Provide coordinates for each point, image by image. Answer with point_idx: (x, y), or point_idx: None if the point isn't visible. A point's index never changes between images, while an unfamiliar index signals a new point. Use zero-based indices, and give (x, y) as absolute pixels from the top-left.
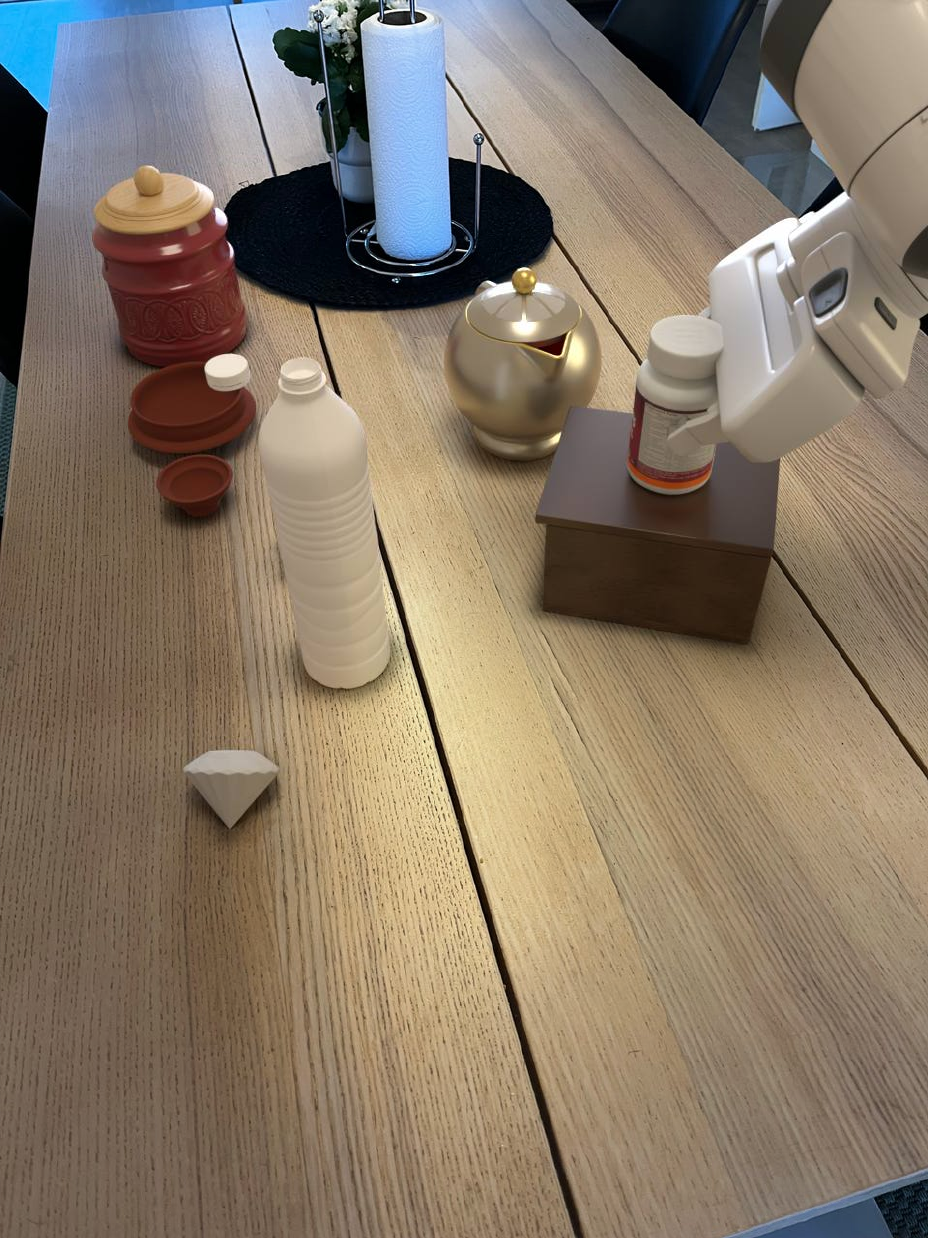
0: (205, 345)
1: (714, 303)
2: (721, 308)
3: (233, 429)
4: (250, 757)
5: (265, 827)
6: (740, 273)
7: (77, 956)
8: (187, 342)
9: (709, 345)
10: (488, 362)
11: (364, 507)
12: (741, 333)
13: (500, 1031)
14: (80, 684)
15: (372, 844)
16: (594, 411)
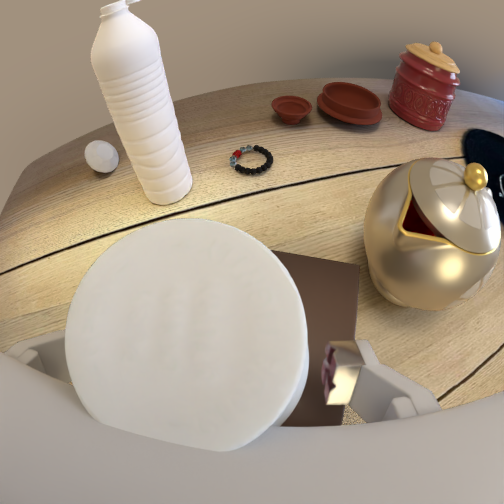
0: (403, 110)
1: (406, 429)
2: (349, 457)
3: (340, 115)
4: (94, 155)
5: (89, 179)
6: (492, 490)
7: (71, 149)
8: (398, 102)
9: (102, 377)
10: (389, 181)
11: (110, 99)
12: (70, 470)
13: (6, 266)
14: (175, 112)
15: (68, 216)
16: (352, 291)
